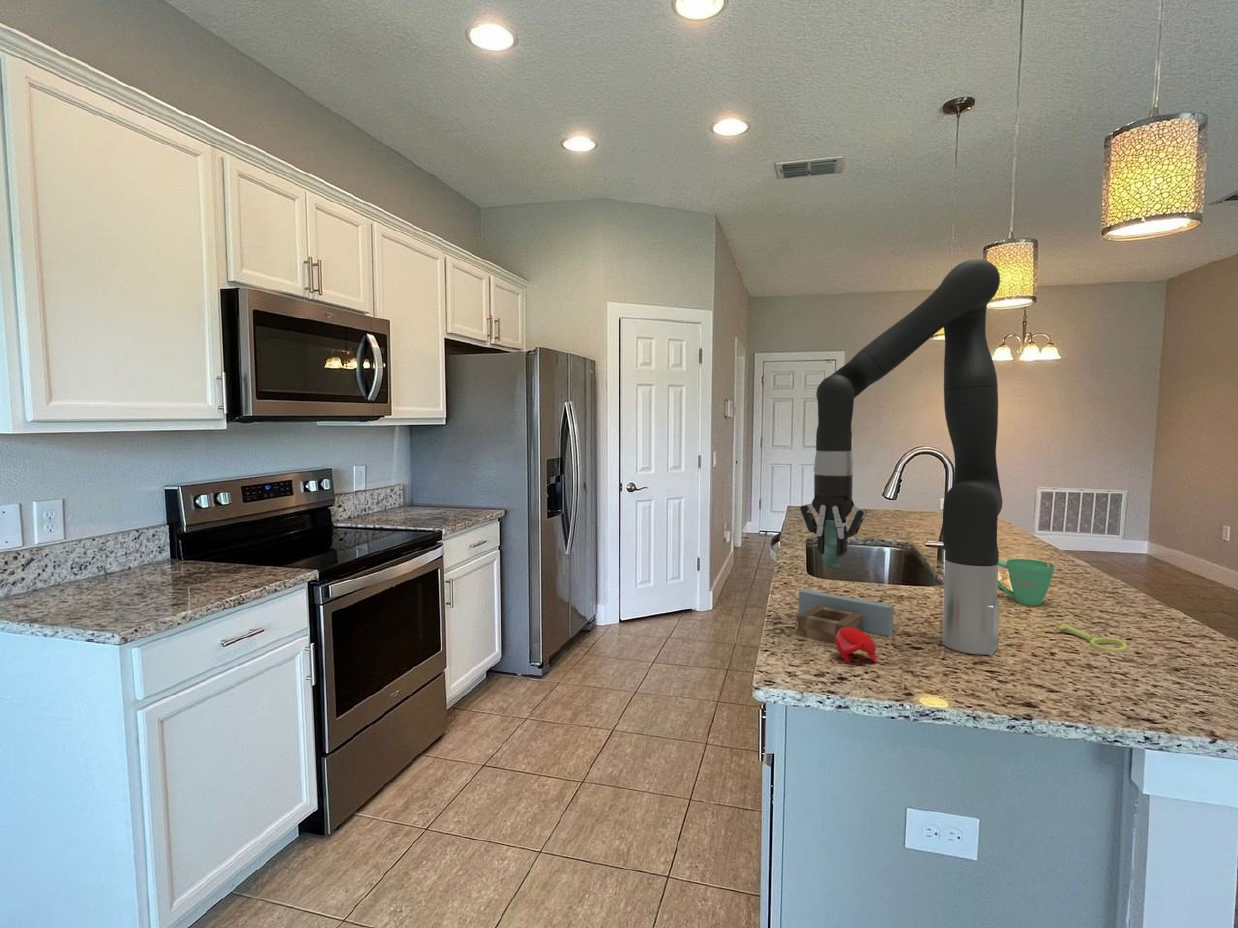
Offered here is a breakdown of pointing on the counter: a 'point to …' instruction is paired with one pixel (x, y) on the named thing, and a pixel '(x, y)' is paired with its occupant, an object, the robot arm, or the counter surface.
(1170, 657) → the counter surface
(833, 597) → the wall
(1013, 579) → the mug
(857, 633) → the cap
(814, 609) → the holed block
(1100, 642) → the key
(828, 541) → the dowel
